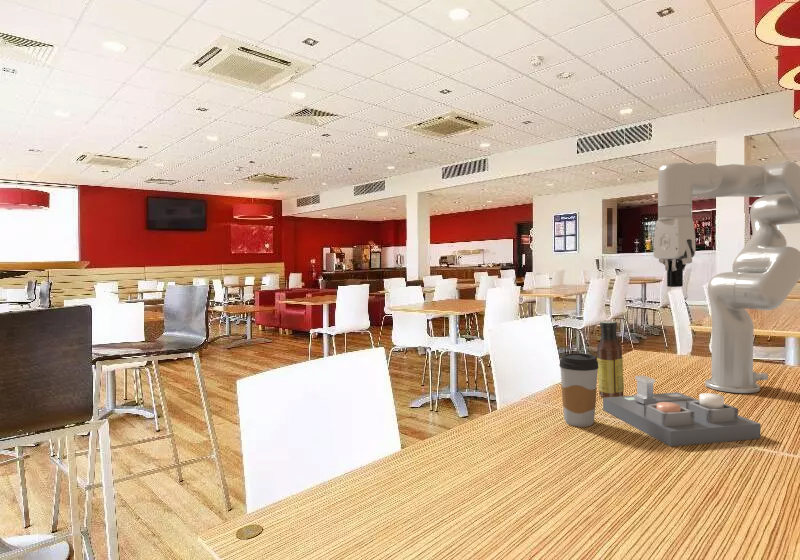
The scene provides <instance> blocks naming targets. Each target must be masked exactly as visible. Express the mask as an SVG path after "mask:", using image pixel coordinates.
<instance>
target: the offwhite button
mask: <svg viewBox="0 0 800 560" xmlns="http://www.w3.org/2000/svg"><path fill="white" fill-rule="evenodd" d="M724 399H725V397H724V396H723V395H721V394H717V393H711V392H708V393H707V392H704V393H699V399H698V400H699V405H700V406H703V407H705V408H708V409H720V408H724V404H725V400H724Z"/></svg>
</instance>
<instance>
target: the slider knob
mask: <svg viewBox="0 0 800 560" xmlns="http://www.w3.org/2000/svg"><path fill="white" fill-rule="evenodd" d="M635 380H636V386H637V387H636V388H637V389H636V394H633V395H634V400H636V401H638V402H640V403H642V404H653V403H656V398H655V397H653V394H654V384H655V383H656V378H652V377H649V376H646V375H642V374H641V375H635Z"/></svg>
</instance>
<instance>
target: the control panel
mask: <svg viewBox="0 0 800 560" xmlns="http://www.w3.org/2000/svg"><path fill="white" fill-rule="evenodd" d="M634 395H635V394H633V395H623V396H619V397H605V398H604V397H602V400H603V401H602V410H603V411H605V412H606V413H608V414H610V415H612V416H614V417H616V418H617V419H620V420H621V421H623V422H625V423H626V424H628V425H630V426H632V427H634V428H635V429H637V430H639V431H641V432H643V433H645V434H646V435H648V436H651V437H652V438H654V439H655V440H657V441H659V442H661V443H663V444H665V445H667V446H669V447H680V446H681V447H682V446H691V445H702V444H713V443H723V442H735V441H744V440H746V441H747V440H758V439H761V432H762V431H761V426H762V424H761V423H760V422H757V421H754V420H751V419H749V418H746V417H744V416H741V415H739V408H738V407H735V406H733V405H730V404H727V403H724V408H720V409H708V408H705V407H703V406H700V405H699V399H697V398H694V397H691V396H689V395H686V394H683V393H681V392H678V391H677V392H662V393H661V392H660V393H653V397H655V398H656V403H653V404H642V403H640V402H638V401H636V400H634ZM659 402H670V403H675V404H678V405H680V406H681V412H669V413H665V412H663V411H661V410H658V409H657V403H659Z"/></svg>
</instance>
